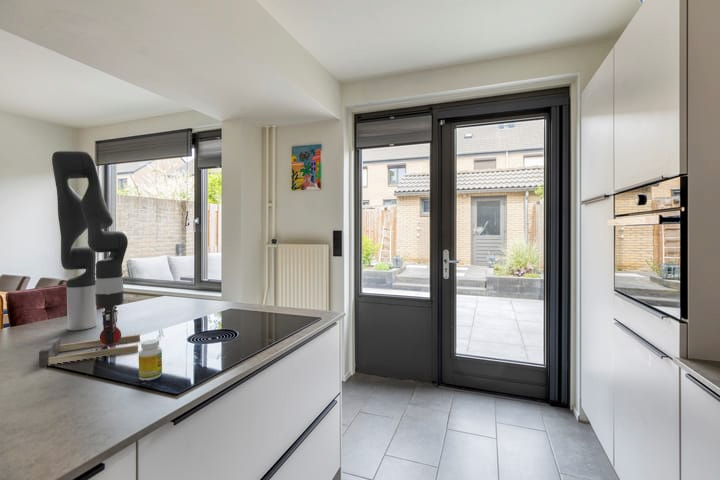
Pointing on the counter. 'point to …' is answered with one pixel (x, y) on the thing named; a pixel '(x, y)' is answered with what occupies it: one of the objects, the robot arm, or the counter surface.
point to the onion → (116, 336)
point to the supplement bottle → (150, 360)
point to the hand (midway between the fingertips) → (110, 340)
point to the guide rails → (54, 347)
